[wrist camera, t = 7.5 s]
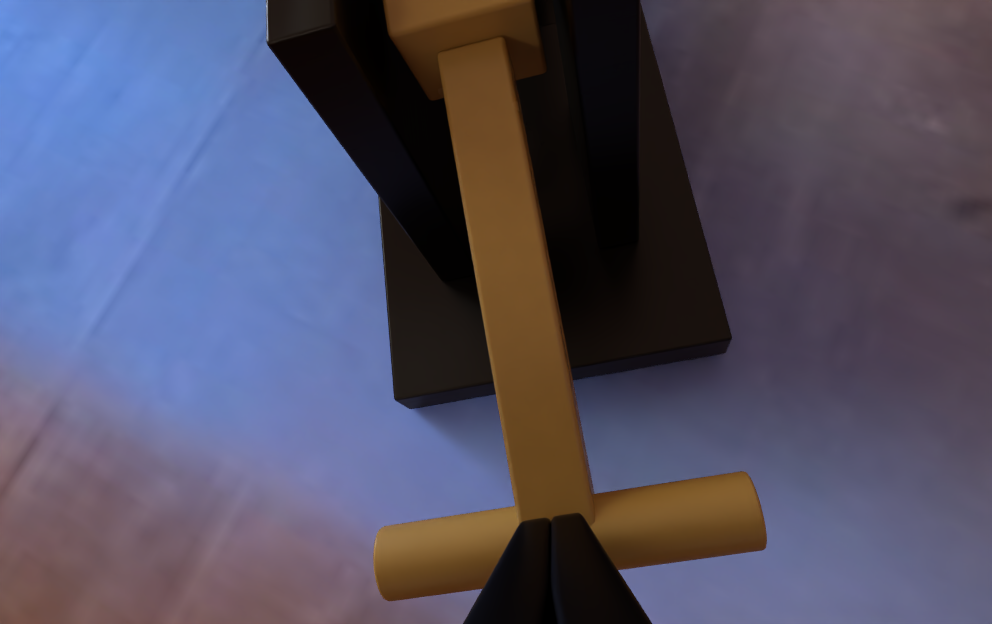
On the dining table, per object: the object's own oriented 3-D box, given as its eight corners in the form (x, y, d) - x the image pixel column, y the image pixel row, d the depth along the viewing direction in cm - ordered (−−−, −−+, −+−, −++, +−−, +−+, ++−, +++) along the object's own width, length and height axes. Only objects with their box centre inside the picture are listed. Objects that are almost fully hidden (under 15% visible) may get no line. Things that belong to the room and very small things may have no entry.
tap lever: (746, 529, 10) (786, 573, 8) (413, 576, 11) (362, 629, 9) (610, -94, 12) (611, -212, 10) (322, -14, 13) (258, -104, 10)
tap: (726, 353, 16) (843, 100, 7) (409, 410, 17) (151, 255, 8) (640, 30, 20) (642, -417, 10) (382, 95, 21) (181, -259, 12)
